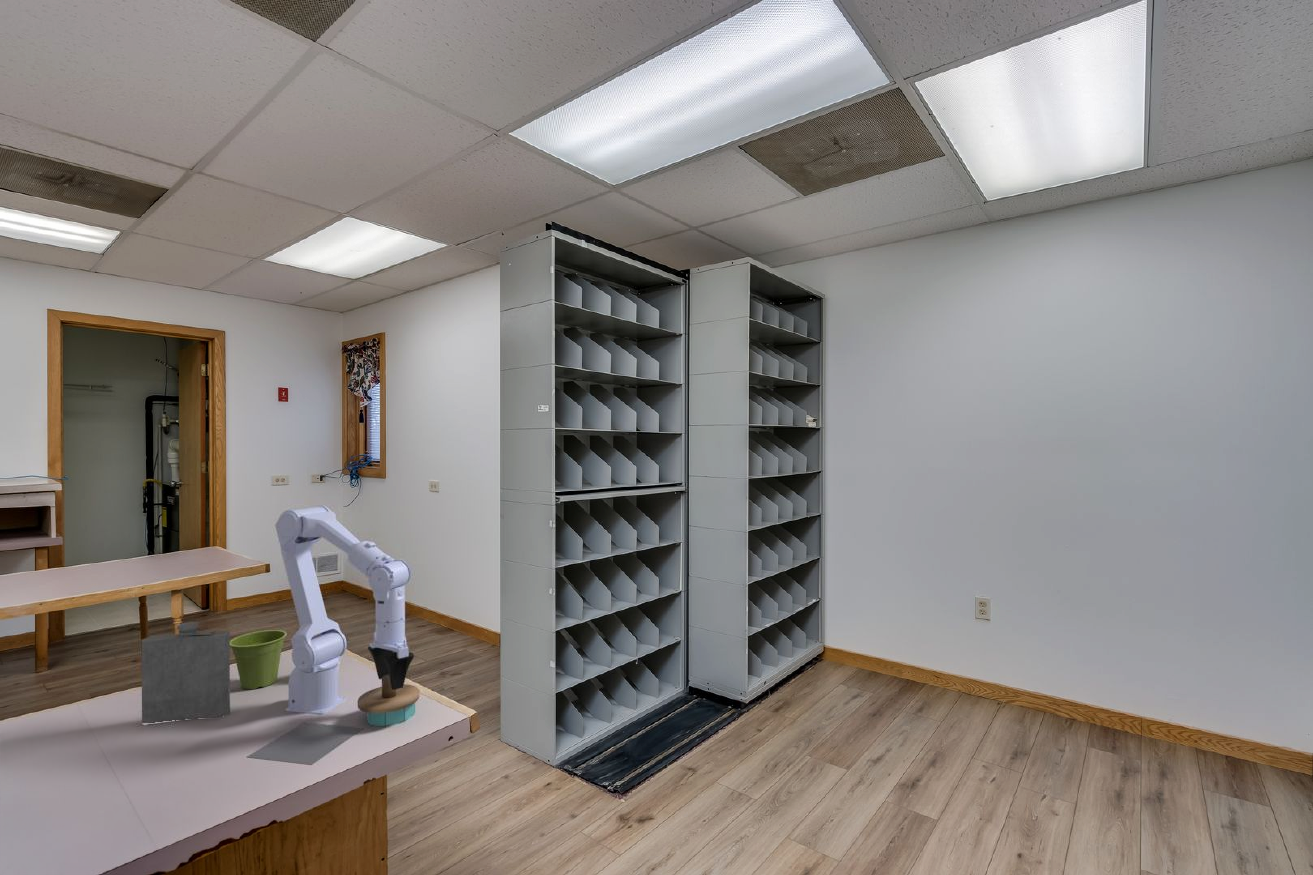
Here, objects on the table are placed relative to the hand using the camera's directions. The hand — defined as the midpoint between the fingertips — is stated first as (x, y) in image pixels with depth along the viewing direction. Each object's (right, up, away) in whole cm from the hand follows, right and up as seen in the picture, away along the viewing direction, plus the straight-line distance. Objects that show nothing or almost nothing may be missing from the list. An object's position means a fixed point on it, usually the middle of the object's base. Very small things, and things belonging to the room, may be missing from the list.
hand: (390, 682), depth 129 cm
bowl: (0, -8, 0) cm, 8 cm away
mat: (-11, -7, -11) cm, 17 cm away
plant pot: (-40, -8, +18) cm, 45 cm away
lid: (0, -4, 0) cm, 4 cm away
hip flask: (-44, -8, +1) cm, 44 cm away
